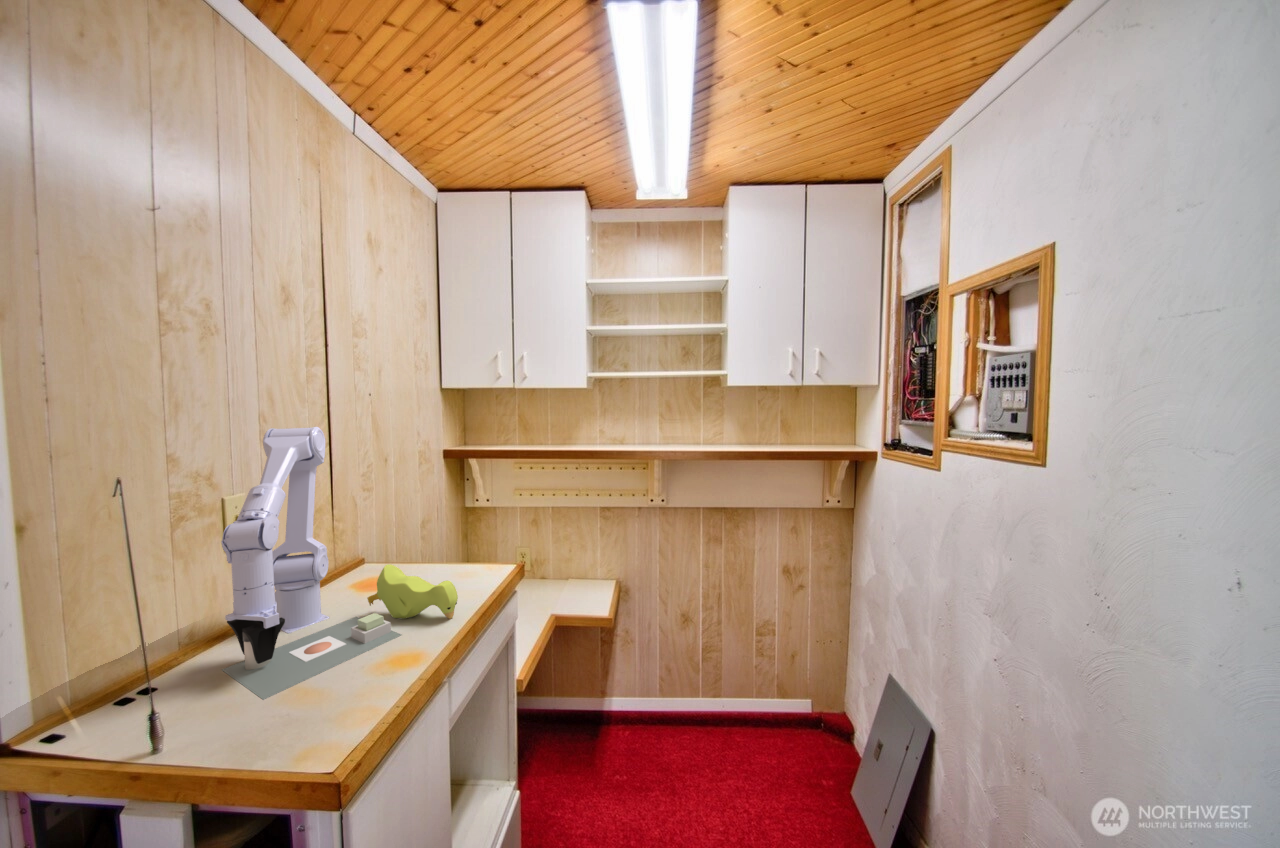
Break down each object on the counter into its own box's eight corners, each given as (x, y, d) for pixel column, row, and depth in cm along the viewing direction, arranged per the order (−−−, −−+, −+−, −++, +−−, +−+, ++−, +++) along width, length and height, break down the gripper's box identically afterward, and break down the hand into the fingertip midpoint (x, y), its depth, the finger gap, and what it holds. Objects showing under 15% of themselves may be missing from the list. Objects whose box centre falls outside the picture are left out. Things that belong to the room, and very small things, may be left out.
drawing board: (221, 672, 79) (220, 658, 79) (356, 618, 99) (355, 607, 99) (263, 702, 70) (262, 687, 70) (402, 637, 90) (401, 625, 90)
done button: (358, 631, 90) (357, 619, 90) (375, 624, 93) (374, 613, 93) (367, 635, 88) (366, 623, 88) (384, 628, 91) (383, 616, 91)
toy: (379, 647, 98) (452, 621, 94) (354, 578, 99) (425, 549, 95) (400, 633, 104) (469, 608, 100) (376, 568, 105) (444, 541, 101)
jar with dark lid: (240, 666, 80) (239, 631, 80) (266, 656, 83) (264, 622, 83) (249, 672, 78) (247, 636, 78) (275, 661, 81) (273, 626, 81)
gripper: (210, 585, 80) (214, 657, 81) (241, 599, 73) (245, 679, 73) (258, 572, 87) (262, 639, 87) (291, 584, 79) (295, 658, 80)
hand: (257, 656), depth 81 cm, fingers open, 5 cm apart
